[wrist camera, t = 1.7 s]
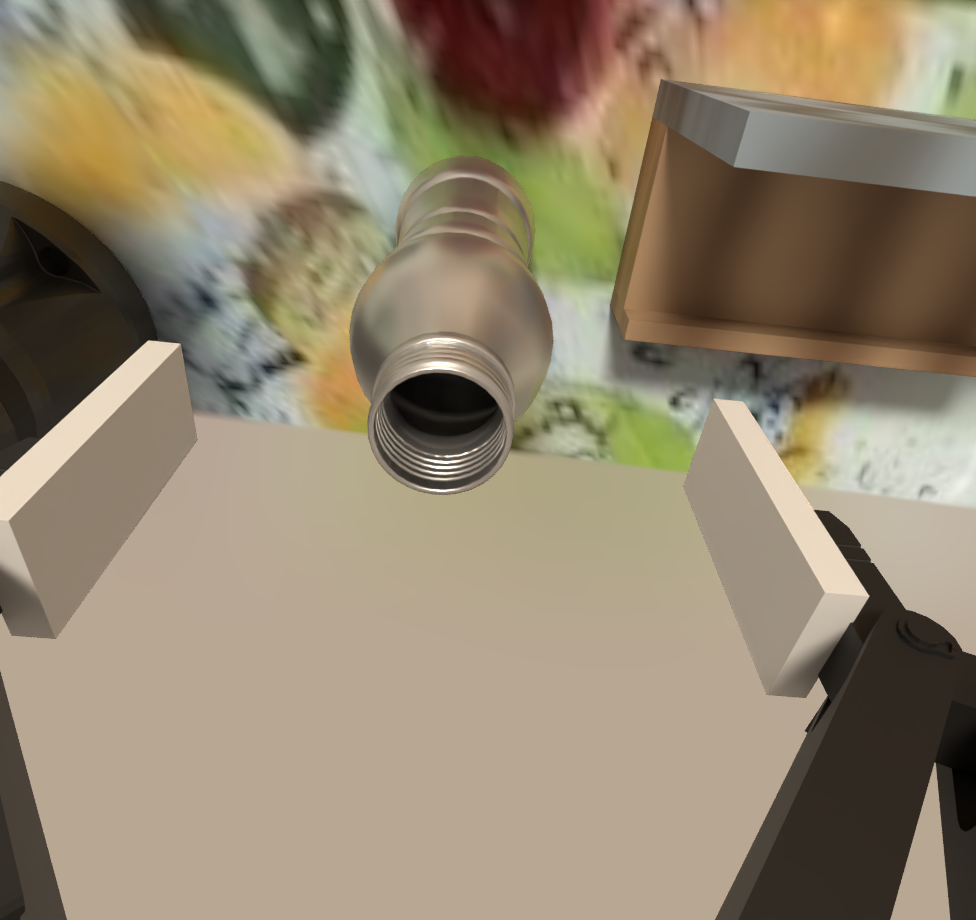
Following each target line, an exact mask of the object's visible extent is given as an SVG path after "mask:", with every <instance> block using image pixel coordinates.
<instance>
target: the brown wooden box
mask: <svg viewBox="0 0 976 920" xmlns="http://www.w3.org/2000/svg"><path fill="white" fill-rule="evenodd" d="M610 306H611V308H612V311H613V313H614V316H615V318H616V321H617V323H618V325H619V328H620V330H621V333H622V335H623V338H624V340H632V341H642V342H651V343H661V344H670V345H680V346H689V347H698V348H708V349H717V350H727V351H736V352H746V353H755V354H764V355H774V356H783V357H793V358H802V359H812V360H821V361H830V362H840V363H849V364H859V365H868V366H878V367H887V368H896V369H906V370H915V371H925V372H934V373H944V374H953V375H963V376H972V377H976V120H971V119H963V118H955V117H948V116H940V115H932V114H925V113H917V112H909V111H902V110H894V109H886V108H878V107H871V106H863V105H855V104H848V103H840V102H832V101H824V100H817V99H809V98H801V97H794V96H786V95H778V94H770V93H763V92H755V91H747V90H740V89H732V88H724V87H716V86H709V85H701V84H693V83H686V82H678V81H670V80H662V79H661V82H660V87H659V91H658V95H657V100H656V104H655V109H654V113H653V118H652V122H651V126H650V131H649V135H648V140H647V144H646V149H645V153H644V157H643V162H642V166H641V171H640V175H639V180H638V184H637V188H636V193H635V197H634V202H633V206H632V211H631V215H630V220H629V224H628V228H627V233H626V237H625V242H624V246H623V251H622V255H621V259H620V264H619V268H618V273H617V277H616V282H615V286H614V290H613V295H612V299H611V304H610Z"/></svg>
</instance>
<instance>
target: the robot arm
mask: <svg viewBox="0 0 976 920" xmlns="http://www.w3.org/2000/svg"><path fill="white" fill-rule="evenodd" d="M196 441H197V435H196V430H195V423H194V418H193V412H192V406H191V400H190V394H189V389H188V383H187V377H186V371H185V365H184V359H183V354H182V348H181V344H178V343H168V342H159V341H157V337H156V333H155V329H154V325H153V322H152V319H151V316H150V313H149V311H148V308H147V306H146V304H145V302H144V300H143V298H142V296H141V294H140V292H139V290H138V288H137V287H136V285H135V284H134V282H133V280H132V279H131V277H130V276H129V274H128V273H127V272H126V270H125V269H124V267H123V266H122V265H121V264H120V262H119V261H118V260H117V259H116V257H115V256H114V255H113V254H112V253H111V252H110V251H109V250H108V249H107V248H106V247H105V246H104V245H103V244H102V243H101V242H100V241H99V240H98V239H97V238H96V237H95V236H94V235H93V234H92V233H91V232H90V231H89V230H87V229H86V228H85V227H84V226H82V225H81V224H80V223H79V222H77V221H76V220H75V219H73V218H72V217H71V216H69V215H68V214H66V213H65V212H63V211H62V210H60V209H59V208H57V207H56V206H54V205H52V204H51V203H49V202H47V201H45V200H44V199H42V198H40V197H38V196H36V195H34V194H32V193H30V192H27V191H25V190H23V189H20V188H18V187H16V186H13V185H10V184H7V183H4V182H1V181H0V614H1V613H2V615H3V618H4V620H5V622H6V624H7V626H8V628H9V631H10V633H11V635H12V636H25V637H37V638H50V639H56V638H57V636H58V635H59V633H60V632H61V631H62V629H63V628H64V627H65V625H66V624H67V622H68V621H69V620H70V618H71V617H72V615H73V614H74V613H75V611H76V610H77V608H78V607H79V606H80V604H81V603H82V601H83V600H84V599H85V597H86V596H87V594H88V593H89V592H90V590H91V589H92V587H93V586H94V584H95V583H96V582H97V580H98V579H99V577H100V576H101V575H102V573H103V572H104V570H105V569H106V568H107V566H108V565H109V563H110V562H111V561H112V559H113V558H114V556H115V555H116V554H117V552H118V551H119V549H120V548H121V546H122V545H123V544H124V542H125V541H126V540H127V538H128V537H129V535H130V534H131V532H132V531H133V530H134V528H135V527H136V525H137V524H138V522H139V521H140V520H141V518H142V517H143V516H144V514H145V513H146V511H147V510H148V509H149V507H150V506H151V504H152V503H153V502H154V500H155V499H156V497H157V496H158V495H159V493H160V492H161V490H162V489H163V488H164V486H165V484H166V483H167V482H168V480H169V479H170V478H171V476H172V475H173V473H174V472H175V471H176V469H177V468H178V466H179V465H180V464H181V462H182V461H183V459H184V458H185V457H186V455H187V454H188V452H189V451H190V449H191V448H192V447H193V445H194V444H195V443H196ZM683 487H684V490H685V492H686V495H687V497H688V500H689V502H690V505H691V507H692V510H693V512H694V514H695V517H696V520H697V522H698V525H699V527H700V530H701V532H702V535H703V537H704V539H705V542H706V544H707V547H708V550H709V552H710V554H711V557H712V560H713V562H714V564H715V567H716V570H717V572H718V574H719V577H720V579H721V582H722V585H723V587H724V589H725V592H726V594H727V597H728V599H729V602H730V604H731V607H732V609H733V612H734V614H735V617H736V619H737V622H738V624H739V627H740V629H741V632H742V634H743V637H744V639H745V641H746V644H747V647H748V649H749V652H750V654H751V657H752V659H753V662H754V664H755V666H756V669H757V672H758V674H759V677H760V679H761V681H762V684H763V686H764V689H765V692H766V694H767V695H775V696H787V697H800V698H801V697H802V698H806V697H807V695H808V694H809V692H810V690H811V689H812V687H813V686H814V684H815V682H816V681H817V679H818V678H820V681H821V683H822V685H823V687H824V689H825V691H826V693H827V694H828V696H827V698H826V699H825V701H824V702H823V704H822V705H821V707H820V709H819V710H818V712H817V713H816V715H815V716H814V718H813V719H812V721H811V722H810V724H809V725H808V727H807V728H806V730H805V731H806V732H807V735H806V737H805V739H804V741H803V743H802V745H801V747H800V749H799V751H798V753H797V755H796V758H795V760H794V762H793V764H792V766H791V768H790V770H789V772H788V774H787V776H786V778H785V780H784V782H783V784H782V786H781V788H780V790H779V792H778V794H777V796H776V798H775V800H774V802H773V804H772V806H771V808H770V810H769V812H768V814H767V816H766V818H765V820H764V822H763V824H762V826H761V828H760V830H759V832H758V834H757V836H756V838H755V840H754V842H753V844H752V846H751V848H750V850H749V852H748V854H747V857H746V858H745V860H744V863H743V865H742V867H741V869H740V871H739V873H738V875H737V877H736V879H735V881H734V883H733V885H732V887H731V889H730V891H729V893H728V895H727V897H726V899H725V901H724V903H723V905H722V907H721V909H720V911H719V913H718V915H717V917H716V919H715V920H890V918H891V915H892V911H893V908H894V904H895V901H896V897H897V894H898V890H899V886H900V883H901V879H902V876H903V872H904V869H905V865H906V862H907V858H908V855H909V851H910V847H911V844H912V840H913V837H914V833H915V830H916V826H917V823H918V819H919V815H920V812H921V808H922V805H923V801H924V798H925V794H926V791H927V787H928V783H929V780H930V776H931V772H932V769H933V766H934V762H935V763H936V769H937V780H938V791H939V801H940V812H941V823H942V834H943V844H944V855H945V866H946V876H947V887H948V897H949V908H950V919H951V920H976V656H975V655H972V654H969V653H966V652H963V651H962V649H961V647H960V646H959V644H958V643H957V641H956V639H955V638H954V637H953V636H952V635H951V634H950V633H949V632H948V631H947V630H946V629H945V628H944V627H942V626H941V625H939V624H938V623H936V622H934V621H933V620H931V619H930V618H928V617H926V616H923V615H921V614H918V613H916V612H913V611H909V610H906V609H905V608H904V606H903V605H902V603H901V602H900V601H899V599H898V598H897V596H896V595H895V594H894V592H893V590H892V589H891V588H890V586H889V585H888V583H887V582H886V580H885V579H884V578H883V576H882V575H881V573H880V572H879V571H878V569H877V567H876V566H875V565H874V563H871V559H870V557H869V556H868V554H867V553H866V552H865V550H864V549H861V544H860V543H859V542H858V540H857V539H856V537H855V536H854V534H853V533H852V532H851V530H850V529H849V528H848V527H847V526H846V525H845V524H844V523H843V522H841V521H840V520H839V519H837V518H836V517H835V516H834V515H833V514H832V513H830V512H829V511H819V510H813V509H812V507H811V505H810V504H809V503H808V501H807V499H806V498H805V496H804V495H803V493H802V492H801V490H800V488H799V487H798V485H797V484H796V482H795V481H794V479H793V478H792V476H791V475H790V473H789V471H788V470H787V468H786V467H785V465H784V464H783V462H782V461H781V459H780V458H779V456H778V454H777V453H776V451H775V450H774V448H773V447H772V445H771V444H770V442H769V441H768V439H767V437H766V436H765V434H764V433H763V431H762V430H761V428H760V427H759V425H758V424H757V422H756V420H755V419H754V417H753V416H752V414H751V413H750V411H749V410H748V408H747V407H746V405H745V404H744V402H741V401H731V400H721V399H713V402H712V405H711V408H710V411H709V414H708V416H707V419H706V422H705V425H704V428H703V431H702V434H701V437H700V439H699V442H698V445H697V448H696V451H695V454H694V457H693V460H692V462H691V465H690V468H689V471H688V474H687V477H686V480H685V482H684V485H683ZM0 920H67V919H66V915H65V911H64V908H63V904H62V900H61V897H60V893H59V889H58V885H57V882H56V877H55V874H54V870H53V866H52V863H51V860H50V855H49V851H48V848H47V844H46V840H45V837H44V833H43V829H42V825H41V821H40V818H39V814H38V810H37V807H36V803H35V799H34V795H33V792H32V788H31V784H30V780H29V777H28V773H27V769H26V766H25V762H24V758H23V754H22V751H21V747H20V743H19V739H18V736H17V732H16V728H15V725H14V721H13V717H12V713H11V710H10V706H9V702H8V698H7V695H6V691H5V687H4V684H3V680H2V676H1V672H0Z"/></svg>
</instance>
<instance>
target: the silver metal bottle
mask: <svg viewBox="0 0 976 920" xmlns="http://www.w3.org/2000/svg"><path fill="white" fill-rule="evenodd" d="M534 238H535V223H534V215H533V212H532V208H531V204H530V202H529V200H528V198H527V196H526V193H525V191H524V189H523V188H522V187H521V186H520V184H519V183H518V182H517V180H516V179H515V178H514V177H513V176H512V175H511V174H510V173H508V172H507V171H506V170H505V169H504V168H502V167H500V166H499V165H497V164H495V163H493V162H491V161H489V160H486V159H483V158H479V157H475V156H458V157H452V158H447V159H444V160H442V161H439V162H437V163H434V164H433V165H431V166H430V167H428V168H427V169H425V170H424V171H422V172H421V173H420V174H419V175H418V176H417V178H416V179H415V180H414V181H413V182H412V183H411V184H410V186H409V188H408V189H407V191H406V192H405V194H404V196H403V199H402V201H401V204H400V207H399V210H398V216H397V222H396V247H397V248H396V249H395V250H393V251H392V252H391V253H390V254H389V255H388V256H387V257H386V258H385V259H384V260H383V261H382V262H381V263H380V264H379V265H378V266H377V267H376V268H375V270H374V271H373V272H372V274H371V275H370V277H369V278H368V280H367V281H366V283H365V284H364V286H363V287H362V289H361V291H360V292H359V294H358V297H357V300H356V302H355V305H354V308H353V311H352V316H351V323H350V330H349V334H350V350H351V355H352V360H353V364H354V368H355V371H356V375H357V379H358V382H359V384H360V386H361V388H362V390H363V392H364V394H365V396H366V397H367V399H368V400H369V401H370V403H371V406H370V410H369V416H368V438H369V442H370V445H371V449H372V451H373V453H374V455H375V457H376V459H377V461H378V462H379V464H380V465H381V466H382V467H383V469H384V470H385V471H386V472H387V473H388V474H389V475H390V476H392V477H393V478H394V479H395V480H397V481H398V482H400V483H402V484H403V485H405V486H407V487H409V488H412V489H414V490H417V491H419V492H424V493H429V494H439V495H448V494H456V493H461V492H465V491H468V490H471V489H473V488H475V487H477V486H479V485H482V484H483V483H484V482H486V481H487V480H488V479H490V478H491V477H492V476H493V475H494V474H495V473H496V472H497V471H498V470H499V469H500V468H501V466H502V465H503V463H504V461H505V460H506V458H507V456H508V453H509V450H510V447H511V444H512V440H513V431H514V425H513V422H514V421H516V420H517V419H518V418H519V417H520V416H521V415H522V414H523V413H524V412H525V411H526V410H527V408H528V407H529V406H530V405H531V403H532V402H533V400H534V398H535V396H536V395H537V393H538V391H539V390H540V388H541V385H542V383H543V381H544V379H545V377H546V374H547V371H548V368H549V365H550V362H551V356H552V349H553V331H552V321H551V318H550V314H549V311H548V307H547V304H546V301H545V299H544V296H543V293H542V291H541V289H540V287H539V285H538V283H537V282H536V280H535V278H534V276H533V275H532V273H531V272H530V270H529V269H528V265H529V262H530V258H531V255H532V251H533V247H534Z"/></svg>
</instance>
